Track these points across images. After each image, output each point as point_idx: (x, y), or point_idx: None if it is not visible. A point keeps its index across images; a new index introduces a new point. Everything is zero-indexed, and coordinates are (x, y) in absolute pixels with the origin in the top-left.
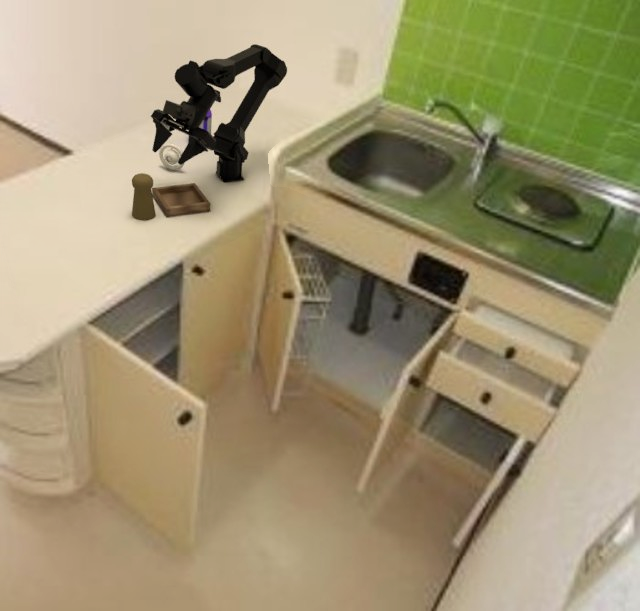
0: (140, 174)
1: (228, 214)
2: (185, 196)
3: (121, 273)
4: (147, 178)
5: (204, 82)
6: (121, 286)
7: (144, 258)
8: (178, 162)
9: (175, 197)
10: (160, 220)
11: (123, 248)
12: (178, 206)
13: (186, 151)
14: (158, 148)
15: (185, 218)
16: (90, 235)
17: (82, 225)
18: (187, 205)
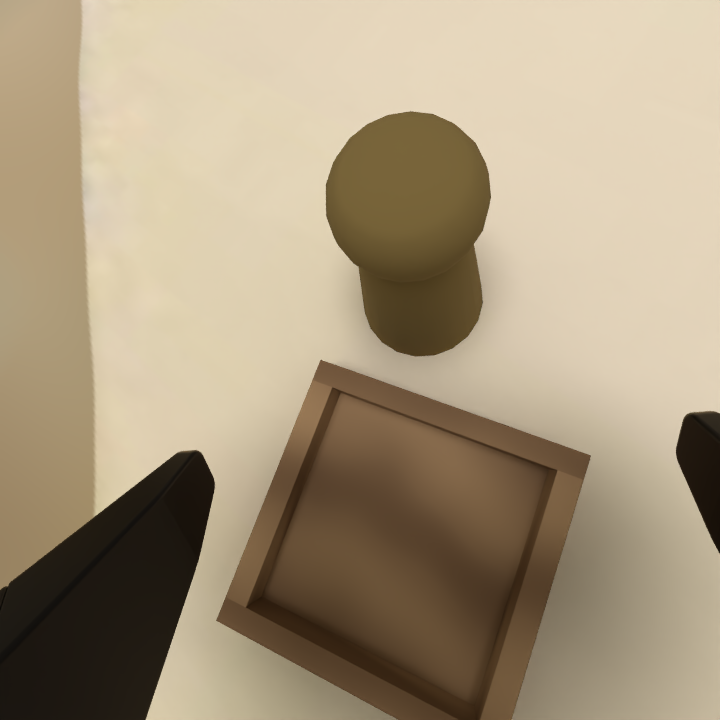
0: (431, 165)
1: None
2: (434, 602)
3: (146, 35)
4: (348, 186)
5: None
6: (99, 10)
7: (158, 129)
8: (186, 451)
9: (458, 539)
10: (331, 332)
11: (254, 100)
12: (302, 432)
13: (10, 593)
14: (716, 523)
15: (272, 442)
16: (406, 42)
17: (496, 45)
18: (281, 484)
